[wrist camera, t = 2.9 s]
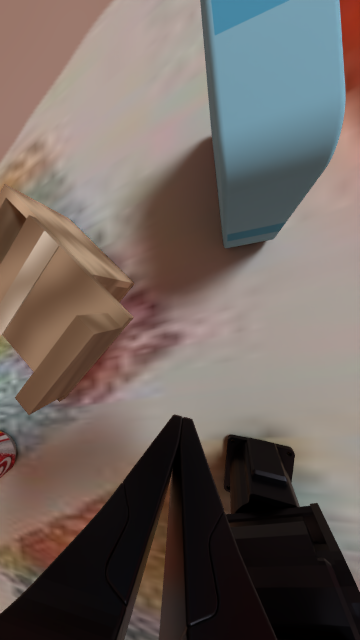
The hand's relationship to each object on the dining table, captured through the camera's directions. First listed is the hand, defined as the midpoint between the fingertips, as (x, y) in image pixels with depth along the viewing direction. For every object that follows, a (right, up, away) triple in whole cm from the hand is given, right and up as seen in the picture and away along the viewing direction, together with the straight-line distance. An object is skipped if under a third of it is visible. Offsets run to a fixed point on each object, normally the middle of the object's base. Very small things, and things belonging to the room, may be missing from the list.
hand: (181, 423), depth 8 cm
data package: (+6, +18, +10) cm, 21 cm away
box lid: (-11, +5, +8) cm, 15 cm away
